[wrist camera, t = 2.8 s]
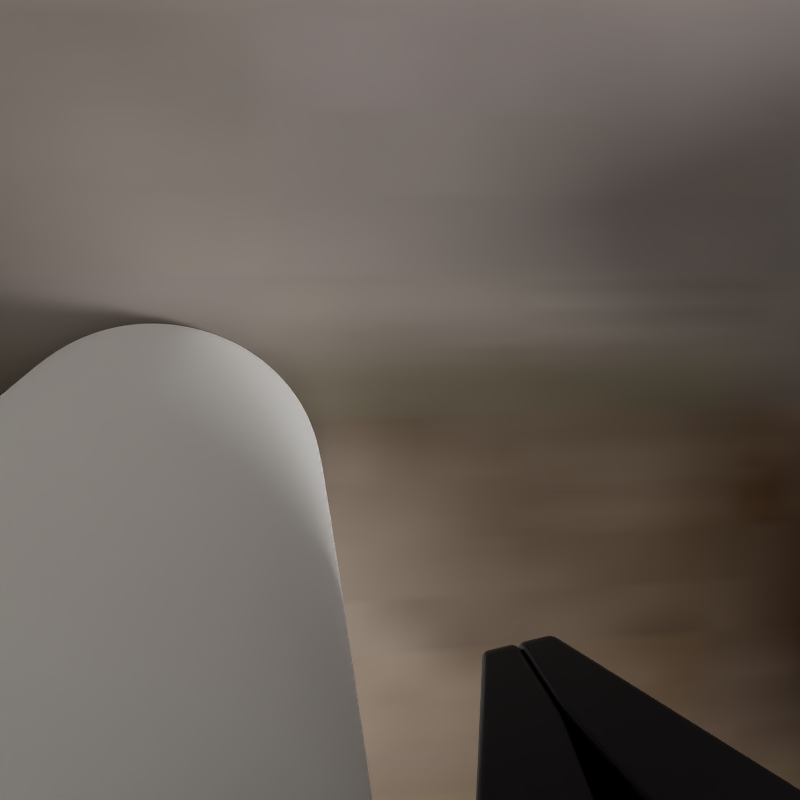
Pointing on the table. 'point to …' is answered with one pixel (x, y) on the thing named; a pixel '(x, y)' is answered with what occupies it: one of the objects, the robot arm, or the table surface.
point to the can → (169, 581)
